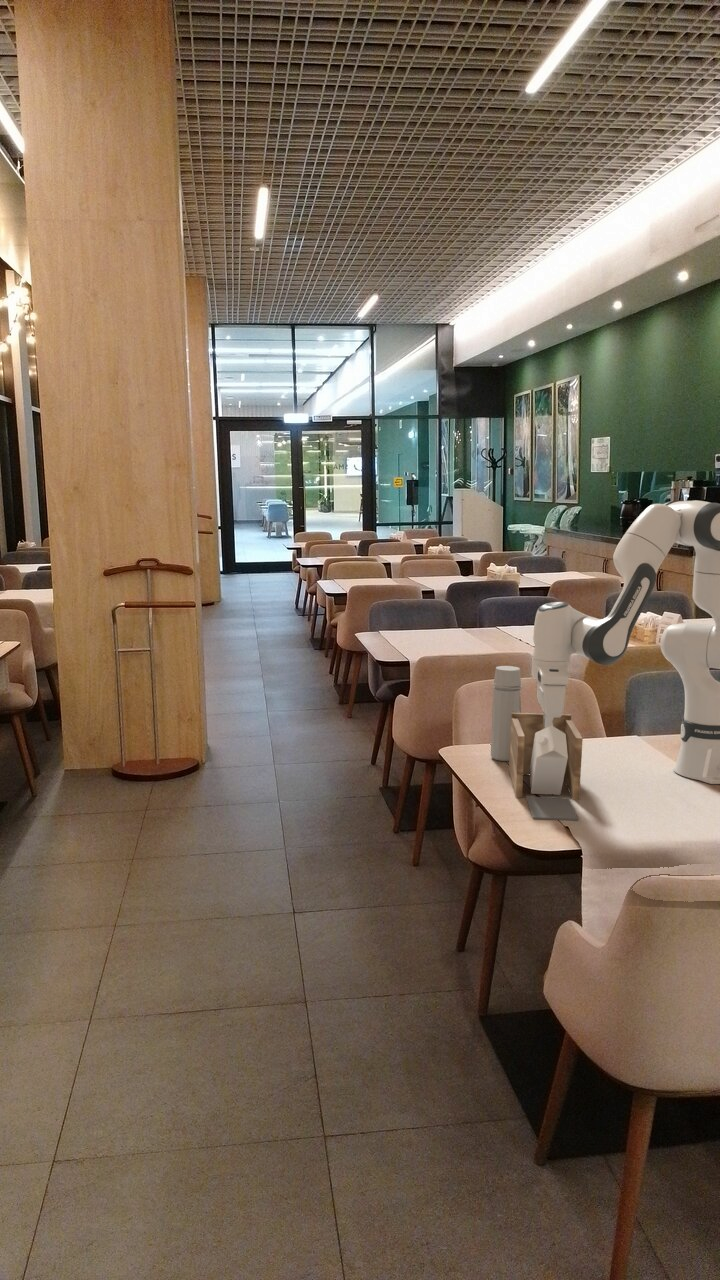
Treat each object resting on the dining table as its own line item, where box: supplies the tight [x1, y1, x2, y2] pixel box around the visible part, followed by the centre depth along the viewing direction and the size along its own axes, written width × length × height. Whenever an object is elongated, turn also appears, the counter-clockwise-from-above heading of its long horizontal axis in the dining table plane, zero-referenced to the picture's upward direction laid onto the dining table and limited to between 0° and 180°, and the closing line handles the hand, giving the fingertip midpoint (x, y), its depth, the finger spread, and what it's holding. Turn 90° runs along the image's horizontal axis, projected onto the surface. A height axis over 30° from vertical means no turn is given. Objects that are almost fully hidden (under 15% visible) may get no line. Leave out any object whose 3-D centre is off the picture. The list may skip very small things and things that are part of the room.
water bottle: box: [490, 665, 523, 762], centre depth 258 cm, size 9×8×25 cm
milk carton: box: [529, 723, 568, 796], centre depth 225 cm, size 7×7×19 cm
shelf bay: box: [508, 712, 583, 800], centre depth 235 cm, size 15×19×16 cm
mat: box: [525, 796, 579, 821], centre depth 220 cm, size 10×14×1 cm
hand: (547, 726), depth 229 cm, fingers closed
